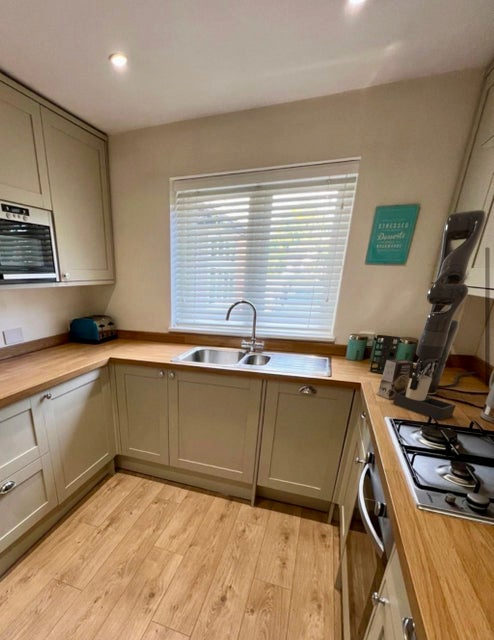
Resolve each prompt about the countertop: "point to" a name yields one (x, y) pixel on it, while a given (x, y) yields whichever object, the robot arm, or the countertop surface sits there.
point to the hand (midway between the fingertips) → (418, 388)
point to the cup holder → (425, 406)
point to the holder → (384, 352)
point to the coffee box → (394, 378)
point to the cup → (419, 389)
